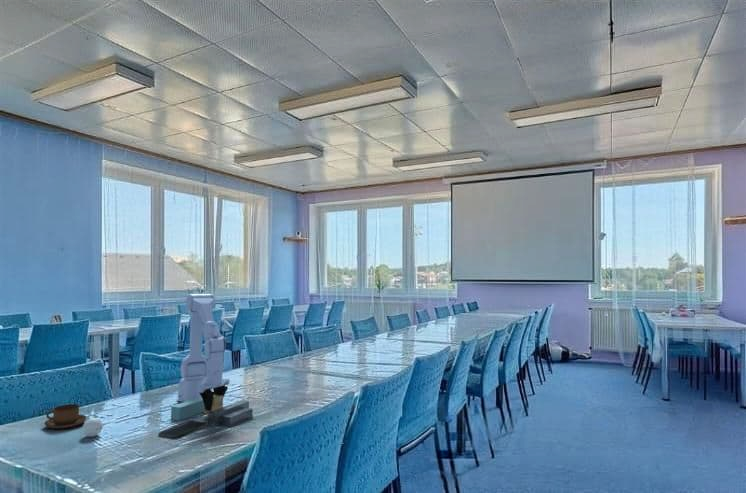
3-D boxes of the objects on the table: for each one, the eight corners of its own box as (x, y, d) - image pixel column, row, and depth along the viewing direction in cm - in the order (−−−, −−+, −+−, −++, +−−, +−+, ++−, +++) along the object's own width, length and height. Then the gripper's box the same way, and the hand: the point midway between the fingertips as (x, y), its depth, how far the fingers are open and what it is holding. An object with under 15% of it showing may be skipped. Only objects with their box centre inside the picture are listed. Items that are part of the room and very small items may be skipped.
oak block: (204, 413, 174) (204, 396, 174) (212, 410, 178) (213, 394, 178) (213, 415, 172) (214, 398, 172) (222, 412, 176) (223, 395, 176)
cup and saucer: (41, 433, 155) (42, 414, 155) (46, 423, 165) (47, 404, 166) (85, 428, 160) (85, 409, 160) (87, 418, 171) (88, 401, 171)
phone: (156, 433, 154) (190, 420, 168) (156, 437, 154) (189, 423, 168) (176, 436, 151) (208, 422, 165) (176, 440, 151) (208, 426, 165)
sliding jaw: (170, 419, 171) (171, 406, 171) (207, 406, 188) (207, 394, 188) (179, 420, 169) (179, 407, 170) (215, 407, 186) (215, 395, 186)
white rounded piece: (87, 440, 149) (88, 422, 149) (78, 437, 152) (79, 419, 152) (112, 433, 155) (113, 416, 155) (102, 430, 158) (103, 413, 158)
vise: (207, 425, 164) (208, 412, 164) (242, 412, 181) (242, 400, 181) (224, 428, 161) (224, 415, 162) (257, 414, 178) (257, 402, 178)
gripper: (208, 375, 167) (207, 415, 167) (236, 368, 181) (235, 404, 180) (193, 373, 170) (191, 412, 170) (221, 366, 184) (220, 402, 183)
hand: (213, 408), depth 175 cm, fingers closed on oak block, 4 cm apart
